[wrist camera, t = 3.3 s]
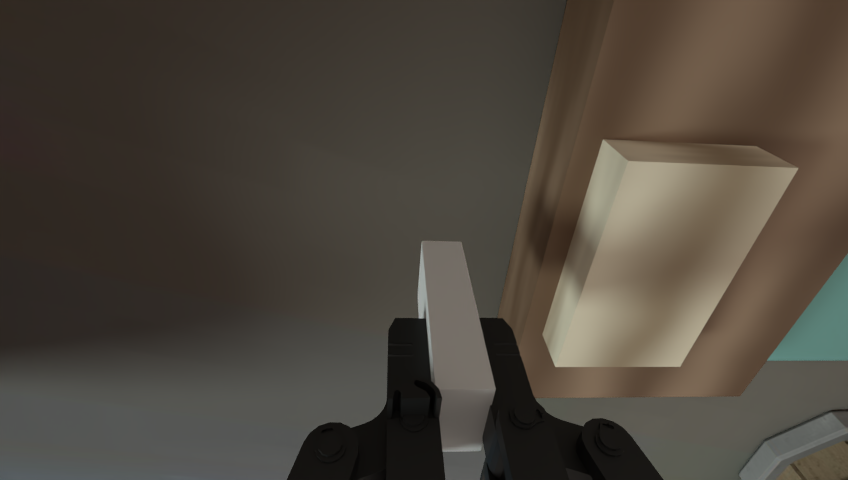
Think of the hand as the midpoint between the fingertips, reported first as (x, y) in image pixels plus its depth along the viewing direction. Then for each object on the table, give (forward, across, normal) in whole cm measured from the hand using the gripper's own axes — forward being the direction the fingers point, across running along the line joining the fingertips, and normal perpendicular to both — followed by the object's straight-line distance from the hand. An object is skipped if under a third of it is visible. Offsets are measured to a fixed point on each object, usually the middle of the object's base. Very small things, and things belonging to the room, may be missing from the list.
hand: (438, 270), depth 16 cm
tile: (+2, +9, 0) cm, 9 cm away
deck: (+6, +12, 0) cm, 13 cm away
